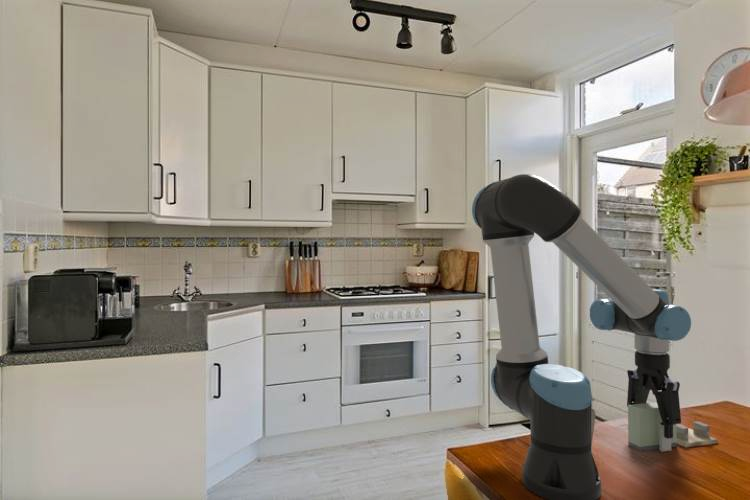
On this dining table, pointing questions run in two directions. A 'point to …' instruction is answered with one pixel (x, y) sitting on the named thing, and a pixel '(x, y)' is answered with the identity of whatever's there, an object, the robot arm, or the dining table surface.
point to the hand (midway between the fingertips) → (653, 444)
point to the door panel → (645, 427)
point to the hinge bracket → (694, 435)
